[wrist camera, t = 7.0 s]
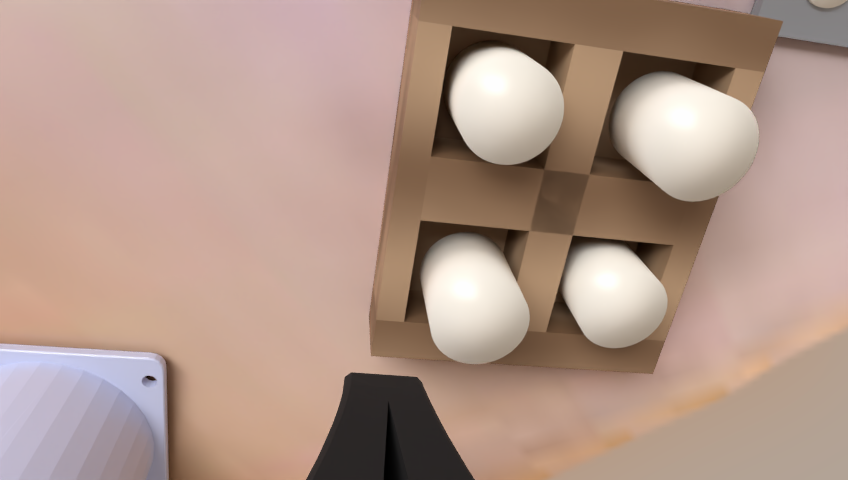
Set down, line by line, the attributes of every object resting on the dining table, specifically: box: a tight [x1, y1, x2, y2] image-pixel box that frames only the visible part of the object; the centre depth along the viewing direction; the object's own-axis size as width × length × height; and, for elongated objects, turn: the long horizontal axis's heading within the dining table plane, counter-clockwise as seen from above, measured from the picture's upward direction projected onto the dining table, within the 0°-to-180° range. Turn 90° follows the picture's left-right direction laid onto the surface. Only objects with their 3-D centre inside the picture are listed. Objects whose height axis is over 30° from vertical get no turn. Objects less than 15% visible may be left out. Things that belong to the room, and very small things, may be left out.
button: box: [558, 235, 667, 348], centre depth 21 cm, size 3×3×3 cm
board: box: [369, 0, 783, 374], centre depth 20 cm, size 12×10×2 cm
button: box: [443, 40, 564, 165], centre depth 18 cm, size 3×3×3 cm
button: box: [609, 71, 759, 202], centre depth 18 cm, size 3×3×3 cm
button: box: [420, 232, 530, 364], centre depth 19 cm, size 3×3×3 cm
